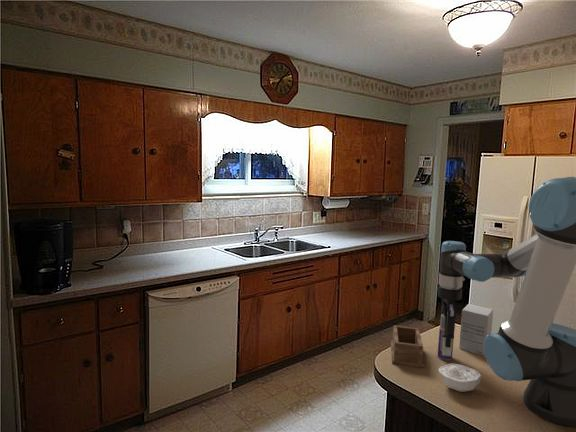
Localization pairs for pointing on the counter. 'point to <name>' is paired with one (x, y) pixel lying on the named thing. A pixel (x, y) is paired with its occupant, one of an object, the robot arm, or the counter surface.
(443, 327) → the container
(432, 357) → the counter surface
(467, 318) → the supplement box
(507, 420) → the counter surface
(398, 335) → the open wooden box
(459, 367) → the cell model
